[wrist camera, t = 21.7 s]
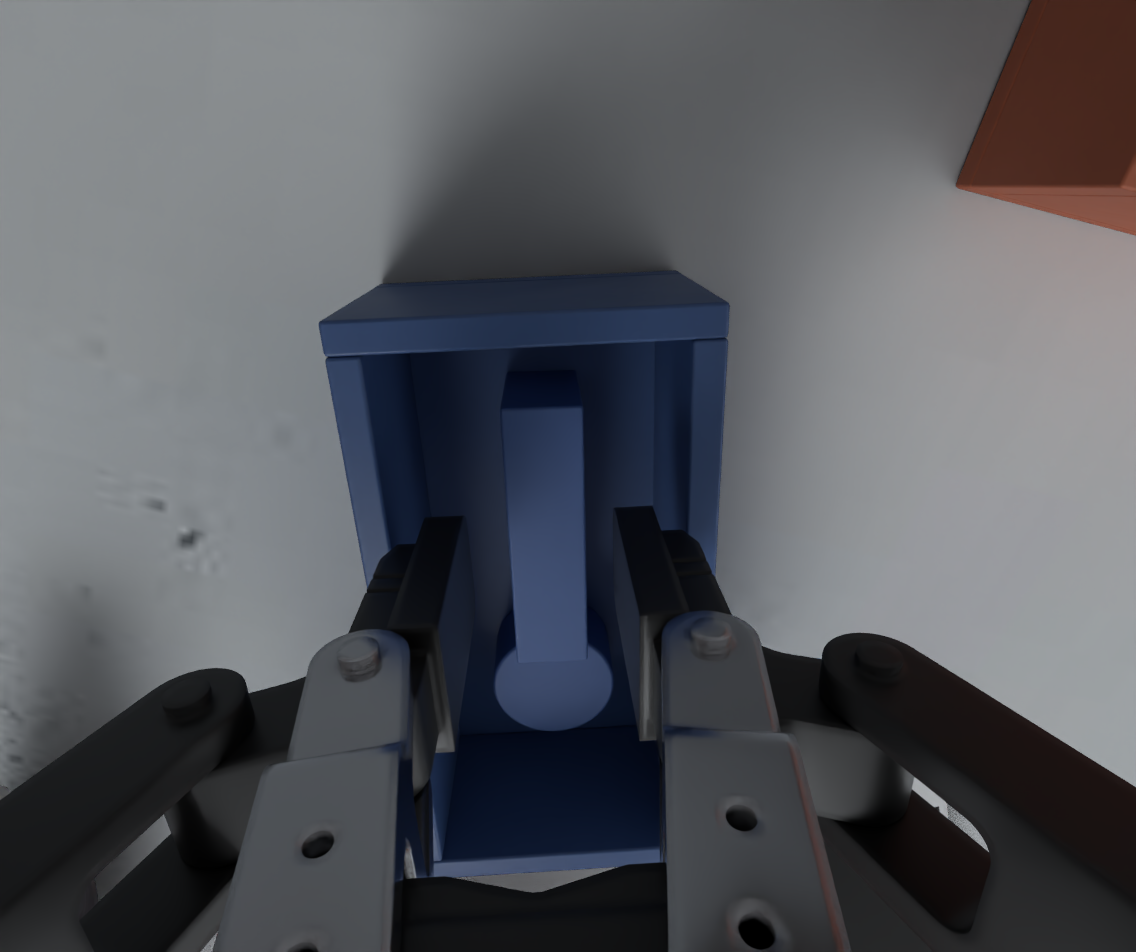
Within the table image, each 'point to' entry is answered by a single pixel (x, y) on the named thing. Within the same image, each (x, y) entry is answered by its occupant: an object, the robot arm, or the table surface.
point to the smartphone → (875, 902)
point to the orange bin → (1064, 116)
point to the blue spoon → (548, 561)
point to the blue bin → (477, 490)
